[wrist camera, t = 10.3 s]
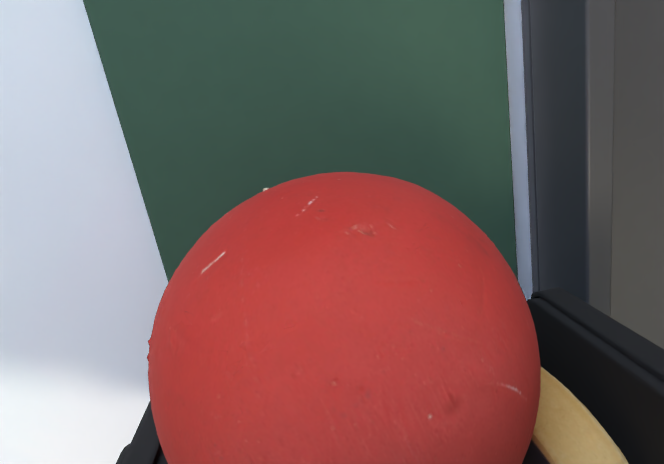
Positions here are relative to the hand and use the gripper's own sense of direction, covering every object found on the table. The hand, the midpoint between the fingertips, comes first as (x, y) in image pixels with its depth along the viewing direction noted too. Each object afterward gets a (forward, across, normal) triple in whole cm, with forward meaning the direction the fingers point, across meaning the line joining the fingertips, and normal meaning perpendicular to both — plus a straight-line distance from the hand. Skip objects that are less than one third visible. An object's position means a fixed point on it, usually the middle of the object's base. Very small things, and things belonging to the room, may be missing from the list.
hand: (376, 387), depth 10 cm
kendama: (+1, 0, +4) cm, 4 cm away
